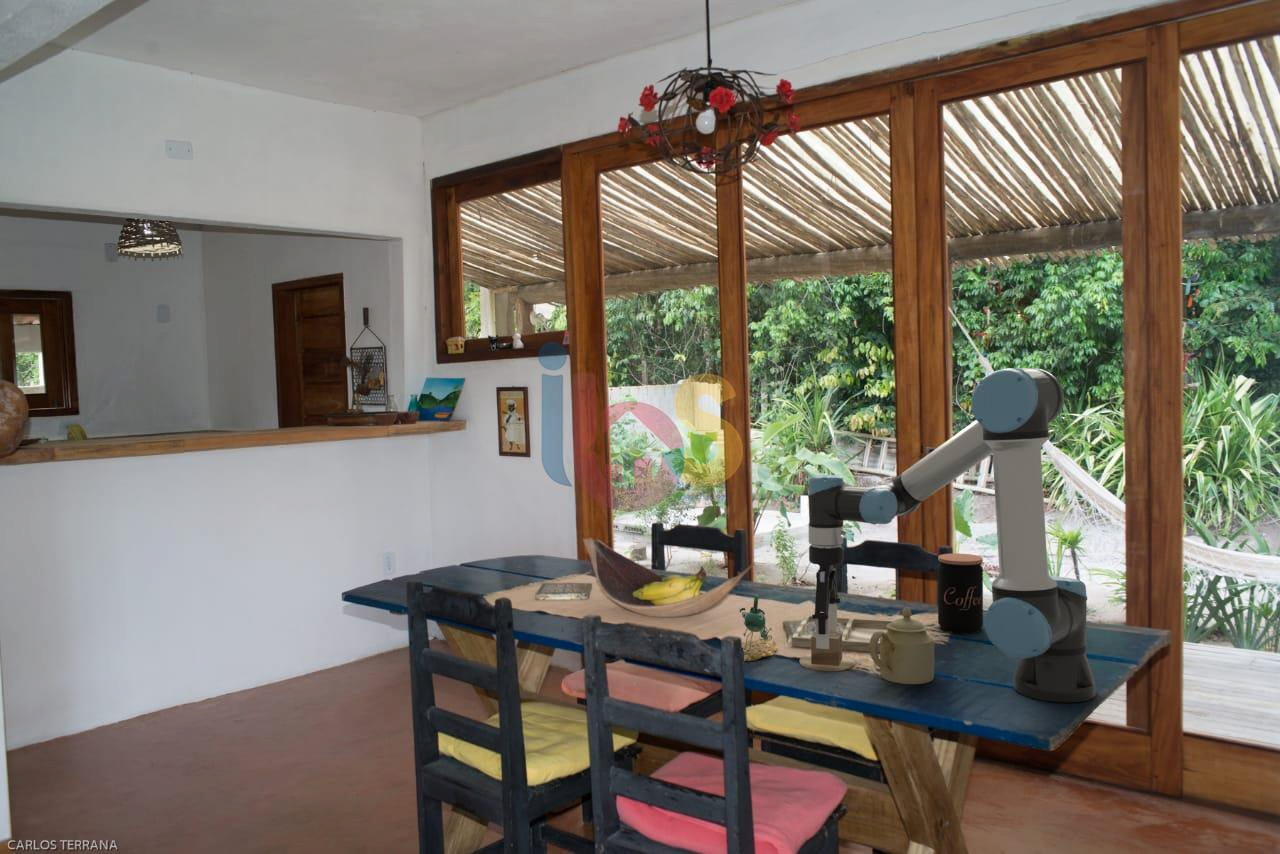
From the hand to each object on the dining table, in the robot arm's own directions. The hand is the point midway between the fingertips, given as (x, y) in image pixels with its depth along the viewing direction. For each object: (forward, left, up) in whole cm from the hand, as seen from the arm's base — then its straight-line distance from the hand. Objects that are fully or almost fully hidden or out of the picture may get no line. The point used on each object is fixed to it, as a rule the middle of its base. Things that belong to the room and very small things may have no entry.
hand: (826, 640), depth 216 cm
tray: (+21, -2, -5) cm, 22 cm away
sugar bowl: (-7, -17, -6) cm, 19 cm away
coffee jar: (+38, -28, -5) cm, 48 cm away
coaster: (0, 0, -5) cm, 5 cm away
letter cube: (0, 0, -5) cm, 5 cm away
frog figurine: (+4, +16, -6) cm, 18 cm away
